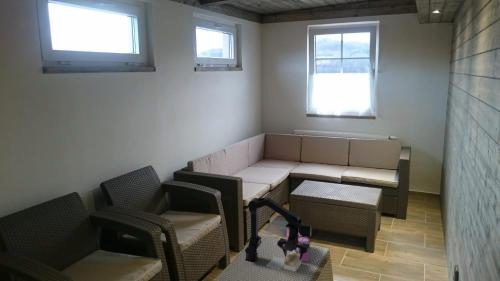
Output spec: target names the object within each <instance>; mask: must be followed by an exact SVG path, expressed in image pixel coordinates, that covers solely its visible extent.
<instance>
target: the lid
mask: <svg viewBox="0 0 500 281" xmlns="http://www.w3.org/2000/svg"><path fill="white" fill-rule="evenodd" d="M284 259H285V260H284V264H285V265H289V266H292V267H295V266H296V265H297V263H298V262H299V261H300V254H299V253H295V252H291V251H290V253H288V255H287V256H286V257H285V258H284Z"/></svg>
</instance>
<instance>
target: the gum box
mask: <svg viewBox="0 0 500 281" xmlns="http://www.w3.org/2000/svg"><path fill="white" fill-rule="evenodd" d="M298 235H299V237H298V241H299V243H298V244H299V245H302V244H303V243H304V244H309V246H310V247H311V240H310V239H309V237H307V236H301V235H300V234H299V233H298ZM288 236H289V227H286V240H288ZM292 252H295V253H299V254H300V248H297V249H296V250H293V251H292ZM310 255H311V248H310V249H309V250H308V252H307V253H304V254H303V256H302V258H301V262H307V261H310Z"/></svg>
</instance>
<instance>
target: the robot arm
mask: <svg viewBox="0 0 500 281" xmlns="http://www.w3.org/2000/svg"><path fill="white" fill-rule="evenodd" d="M247 207H248V211H249V213H250V237H249V241H248V245H247V246H246V247H245V249H244V251H245V259H244V261H247V262H250V263H255V262H256V261H258V259H259V257H258V256H259V253H258V248H259V247H260V246H261V244H262V243H263V242H262V236H260V235H259V211H260V208H263V207H268V208H269V209H271V210H272V211H274V212H276V213H277V214H279V215H280V216H282V218H284V220H285V221H286V222H287V223H286V224H285V227H286V228H287V227H288V228H289V236H288V240H287V238H282V237H281V238H280V239H278V241H277V243H276V245H277V247H279V248H280V249H281V250H282V253H283V254H284V257H285V258H286V257H287V256H288V255H287V254H288V251H289V252H290V253H291V252H292V251H293V250H296V249H297V248H300V260H301V258H302V256H303V254H304V253H307V252H308V250H309V249H310V250H311V245H310V246H309V244H304V243H303V244H302V245H299V244H298V243H299V241H298V237H299V235H298V233H299V234H300V235H301V236H306V237H307V238H311V237H312V231H313V229H312V225H311V224H304V222H303V220H302V219H301V217H300V214H299V213H297V212H295V211H294V210H290V209H287V208H286V207H284V206H282V205H281V204H279V203H277V201H275V200H274V199H271V197H259V198H258V197H253V198H252V199H251V200H250V201H249V202H248V203H247Z"/></svg>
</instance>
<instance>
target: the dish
mask: <svg viewBox="0 0 500 281" xmlns="http://www.w3.org/2000/svg"><path fill="white" fill-rule="evenodd" d="M301 265H302V261H301V260H300V261H299V262H298V263H297V265H296V266H295V267H292V266H289V265H285V264H284V265H283V266H284V268H283V269H284V270H288V271H291V272H297V270H298V269H299V268H300V266H301Z"/></svg>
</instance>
